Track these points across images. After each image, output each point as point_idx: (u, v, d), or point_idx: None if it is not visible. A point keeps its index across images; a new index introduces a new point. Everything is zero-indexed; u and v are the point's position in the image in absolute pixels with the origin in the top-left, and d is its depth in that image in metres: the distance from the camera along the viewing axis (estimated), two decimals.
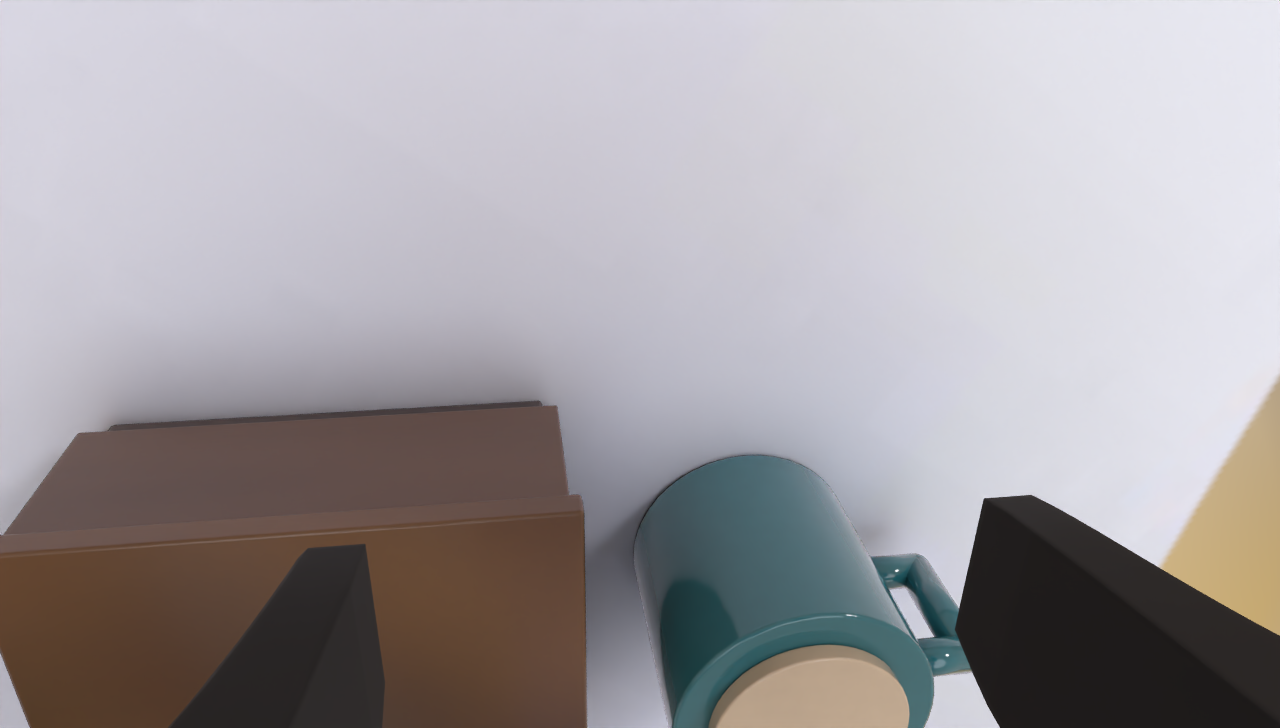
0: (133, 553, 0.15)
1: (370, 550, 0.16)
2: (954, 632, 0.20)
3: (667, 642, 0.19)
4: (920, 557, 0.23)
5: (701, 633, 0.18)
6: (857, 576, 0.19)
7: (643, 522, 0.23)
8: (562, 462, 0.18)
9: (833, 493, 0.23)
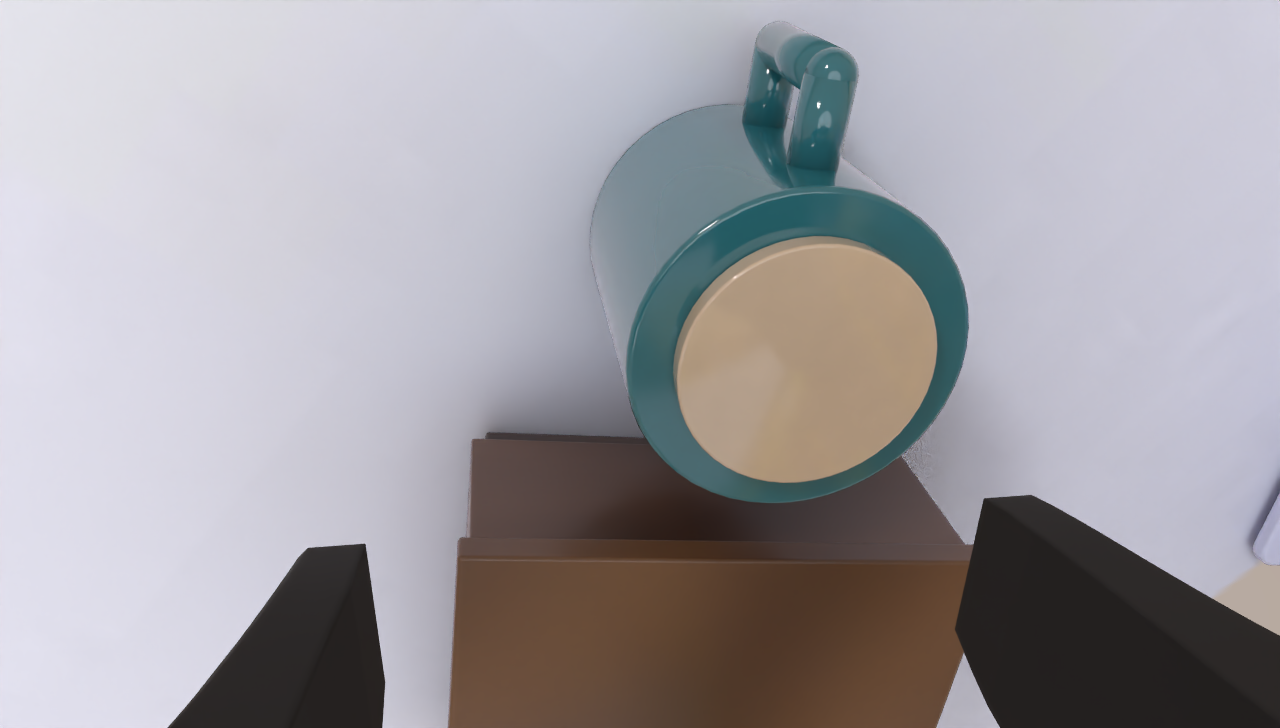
0: None
1: (475, 715, 0.18)
2: (799, 82, 0.14)
3: None
4: (757, 38, 0.16)
5: None
6: (645, 241, 0.15)
7: None
8: (470, 503, 0.18)
9: (660, 128, 0.18)
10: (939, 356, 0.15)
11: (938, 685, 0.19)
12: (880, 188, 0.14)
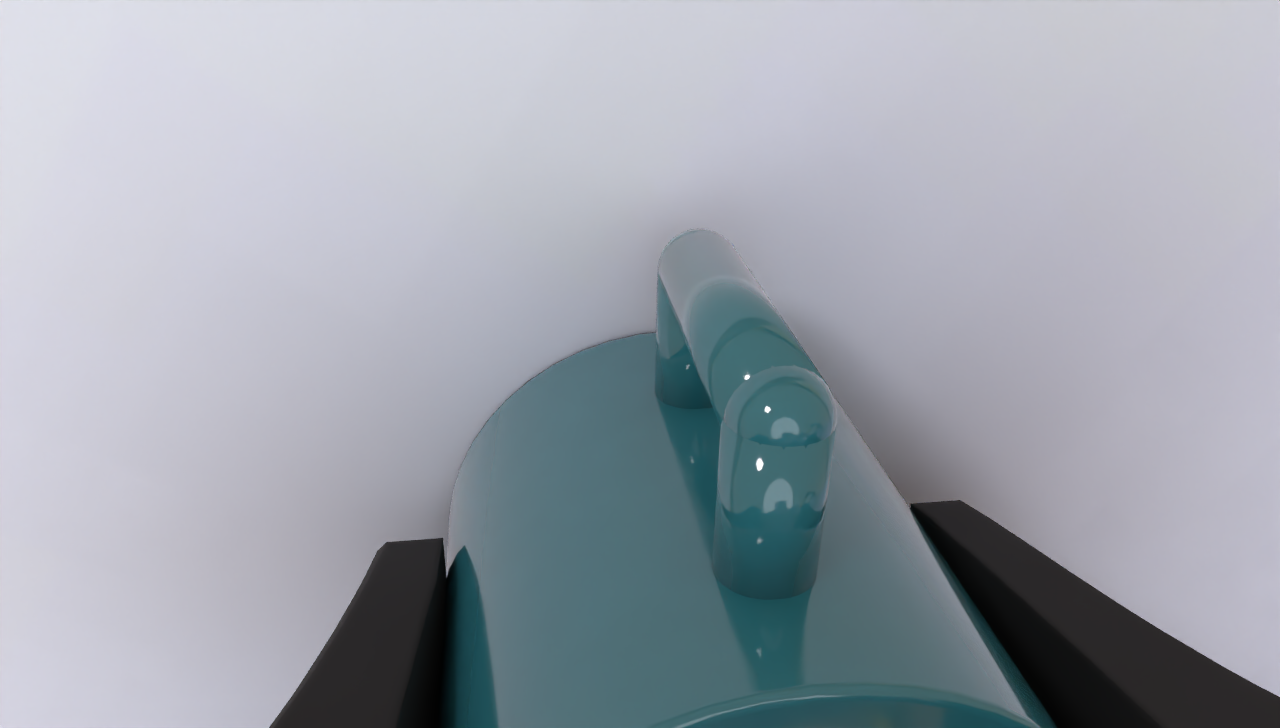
0: None
1: None
2: (718, 420, 0.07)
3: None
4: (658, 264, 0.09)
5: None
6: (459, 727, 0.08)
7: None
8: None
9: (531, 390, 0.11)
10: None
11: None
12: (905, 603, 0.07)
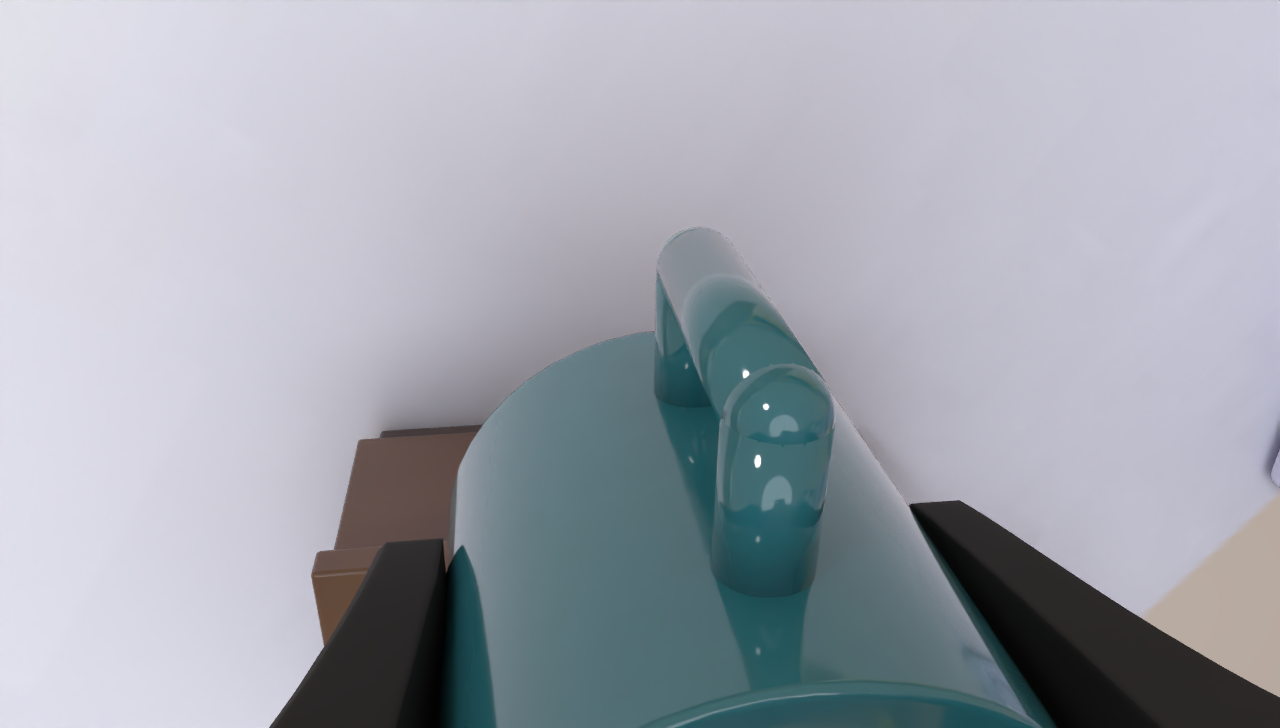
0: None
1: None
2: (717, 418, 0.07)
3: None
4: (658, 263, 0.09)
5: None
6: (459, 726, 0.08)
7: None
8: None
9: (530, 389, 0.11)
10: None
11: None
12: (904, 602, 0.07)
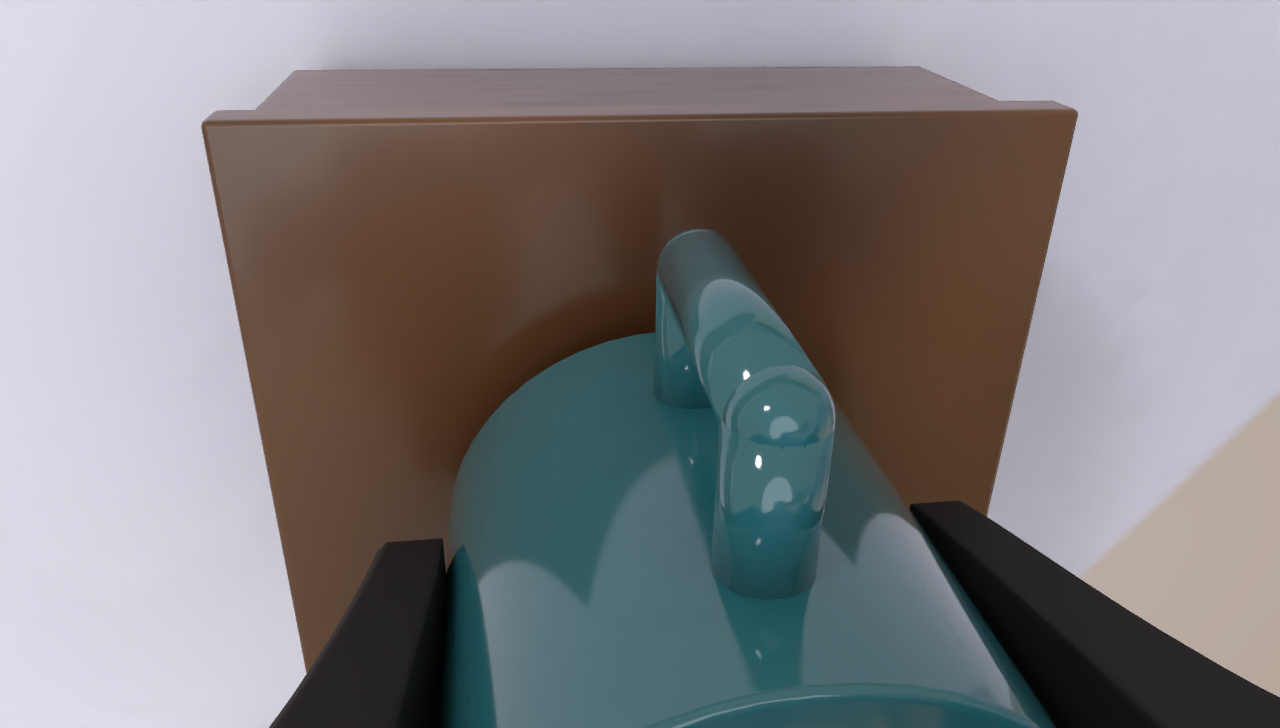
0: (313, 652, 0.13)
1: (297, 422, 0.12)
2: (718, 420, 0.07)
3: None
4: (658, 264, 0.09)
5: None
6: None
7: None
8: (260, 106, 0.12)
9: (530, 390, 0.11)
10: None
11: (1005, 345, 0.13)
12: (905, 604, 0.07)
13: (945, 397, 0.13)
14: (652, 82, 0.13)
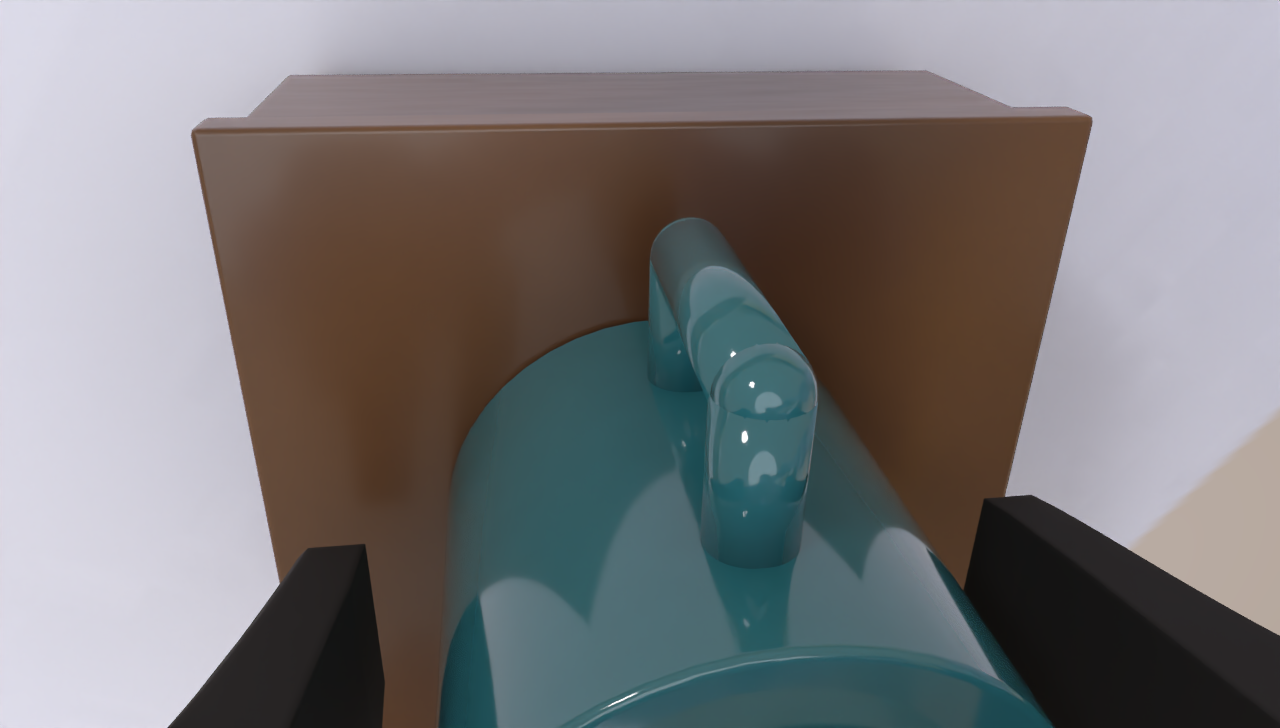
0: None
1: (290, 437, 0.11)
2: None
3: None
4: (651, 251, 0.09)
5: None
6: (457, 695, 0.08)
7: None
8: (253, 112, 0.11)
9: (528, 376, 0.11)
10: None
11: (1016, 356, 0.12)
12: (886, 574, 0.07)
13: (955, 409, 0.13)
14: (655, 87, 0.13)
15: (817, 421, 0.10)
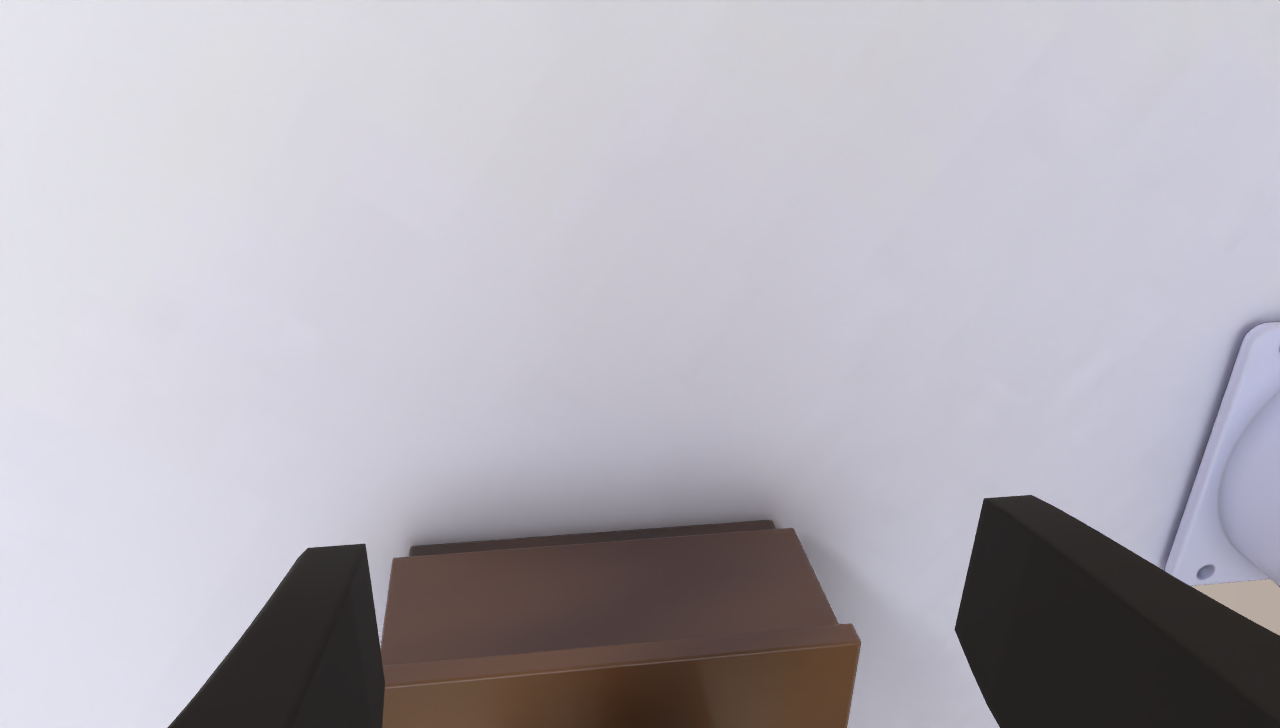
0: None
1: None
2: None
3: None
4: None
5: None
6: None
7: None
8: (383, 627, 0.20)
9: None
10: None
11: None
12: None
13: None
14: (617, 573, 0.21)
15: None
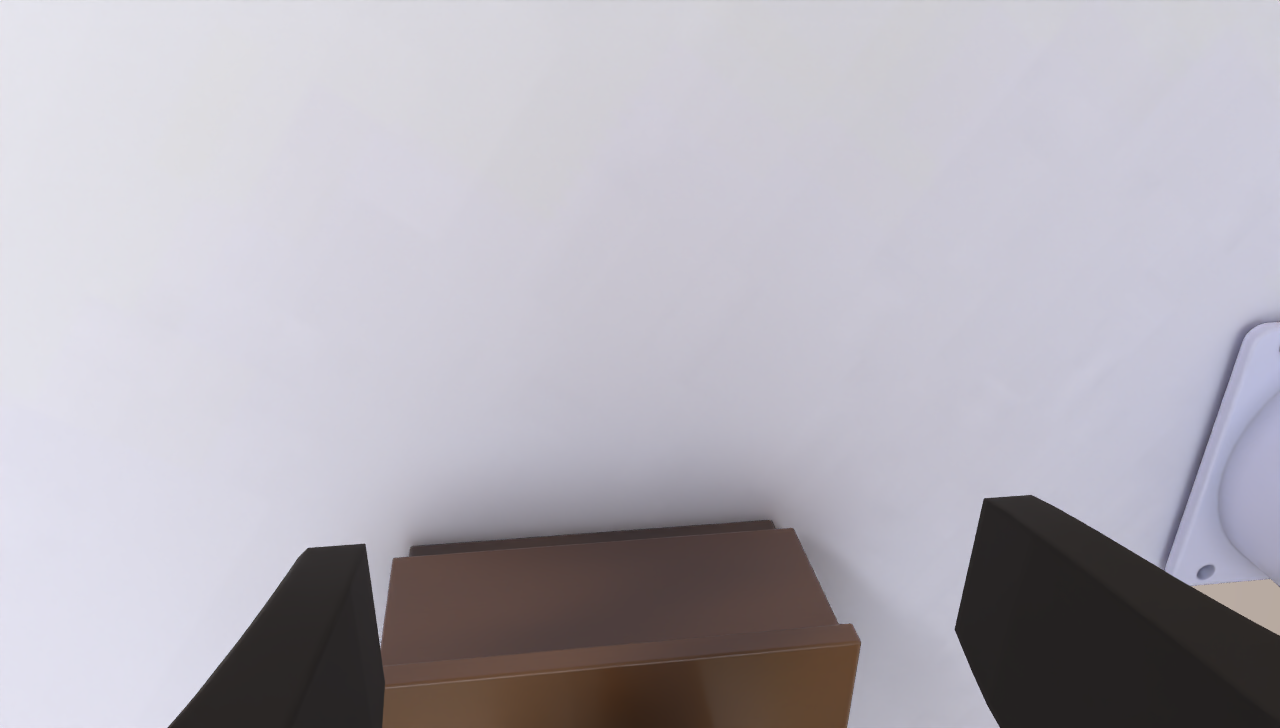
0: None
1: None
2: None
3: None
4: None
5: None
6: None
7: None
8: (383, 627, 0.20)
9: None
10: None
11: None
12: None
13: None
14: (617, 573, 0.21)
15: None
